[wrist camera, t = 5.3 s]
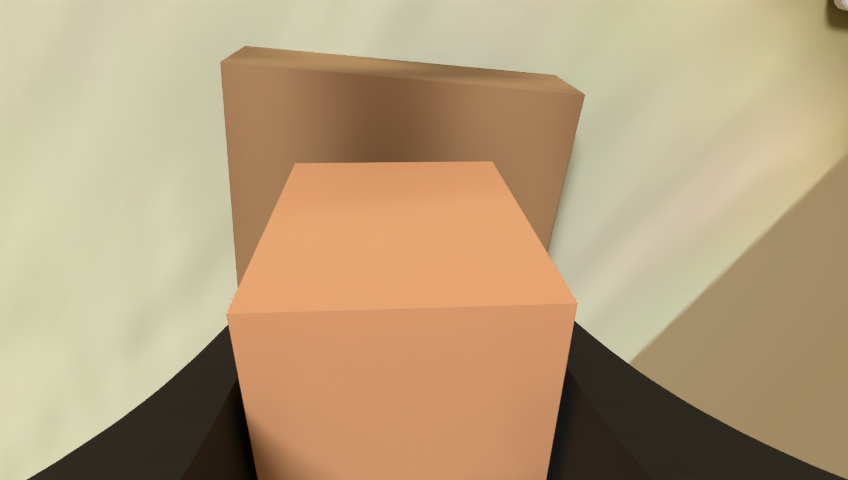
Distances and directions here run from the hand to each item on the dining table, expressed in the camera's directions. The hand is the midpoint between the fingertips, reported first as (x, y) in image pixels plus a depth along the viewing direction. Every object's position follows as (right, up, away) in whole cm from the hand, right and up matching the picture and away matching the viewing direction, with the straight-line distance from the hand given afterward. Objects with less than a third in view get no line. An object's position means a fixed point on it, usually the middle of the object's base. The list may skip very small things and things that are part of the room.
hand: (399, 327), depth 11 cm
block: (0, +3, +6) cm, 7 cm away
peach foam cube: (0, +2, +2) cm, 2 cm away
